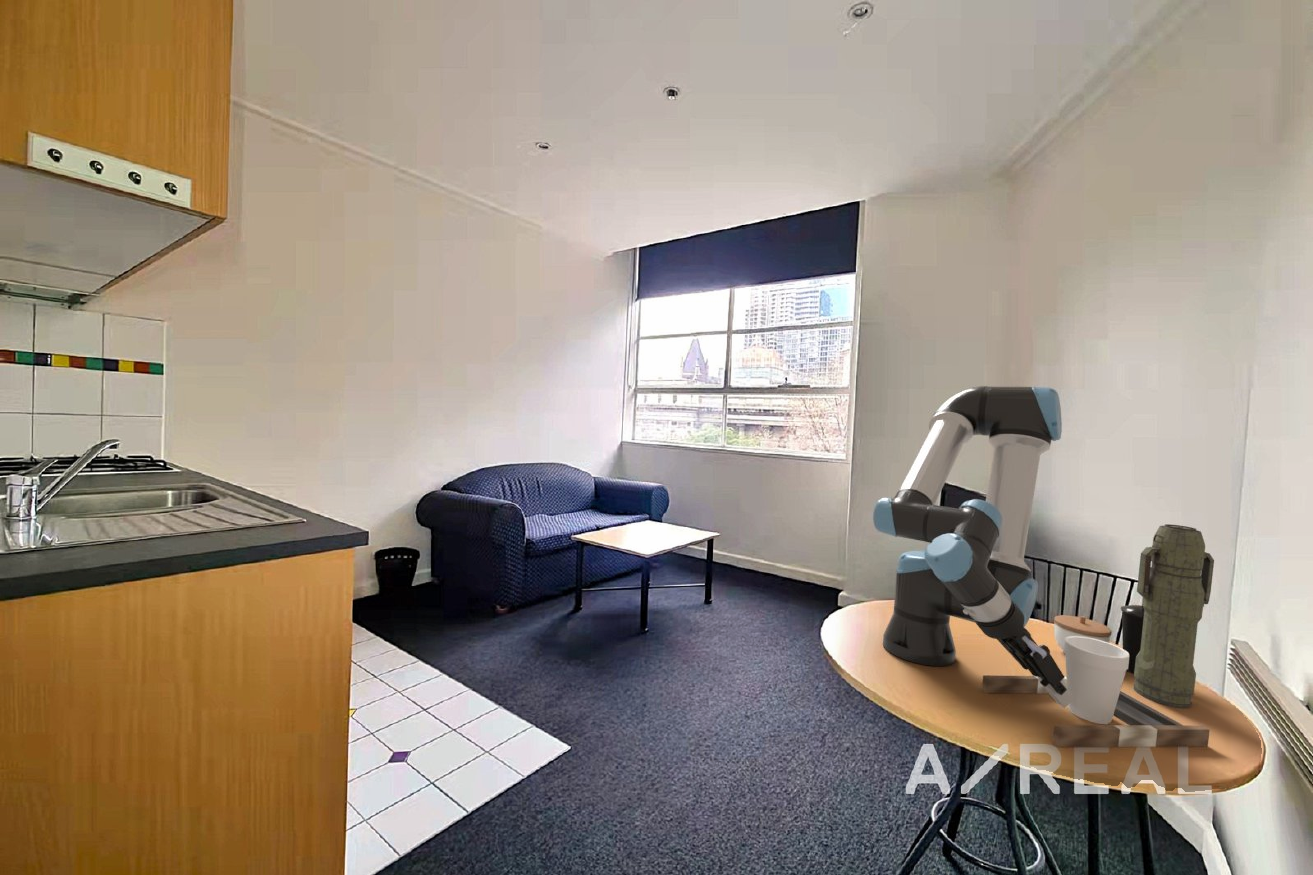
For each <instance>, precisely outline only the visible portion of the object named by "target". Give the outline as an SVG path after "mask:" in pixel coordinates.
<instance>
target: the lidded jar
mask: <svg viewBox="0 0 1313 875" xmlns="http://www.w3.org/2000/svg"><path fill="white" fill-rule="evenodd" d="M1053 620H1054V621H1053V622H1054V623H1053V624H1054V625H1053V629H1054V630H1053V633H1054V639H1055V641H1056V643H1057V645H1058V647H1059V648H1061V650H1062V651H1063V652H1062V653H1064V646H1065V637H1069V636H1081V637H1087V638H1093V639H1097V640H1101V641H1104V642H1108V643H1110V642H1111V636H1112V632H1113V631H1112V629H1111V628H1110V627H1109V626H1108V625H1105V624H1104V623H1100V622H1098V621H1095V620H1092V619H1089V618H1086V616H1083V615H1080V616H1074V615H1065V614H1064V615H1063V614H1061V615H1056V616H1054V617H1053Z"/></svg>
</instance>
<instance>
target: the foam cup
mask: <svg viewBox="0 0 1313 875" xmlns="http://www.w3.org/2000/svg"><path fill="white" fill-rule="evenodd" d="M1063 653H1064V656H1065V658H1064V659H1065V672H1066V674H1065V676H1067V688H1068V690H1069V691H1070V692H1071V693H1072V695H1073V696H1074V697H1075V699H1074V700H1073V701H1072V702H1071V703H1070V704H1069V705H1068V706H1067V707H1068V710H1069V711H1070V712H1071V713H1072V715H1074V716H1076V717H1078V718H1080V719H1083V720H1085V721H1087V722H1091V723H1094V724H1099V725H1100V724H1101V725H1108V724H1109V725H1110V724H1112V720H1113V718H1114V711H1115V708H1116V704H1117V701H1118V697H1119V694H1120V691H1122V686H1123V683H1124V679H1125V676H1126V673H1127V671H1126V670H1127V669H1128V665H1129V653H1128V652H1127V651H1125V650H1124V649H1123V647H1120V646H1117V645H1115V644H1113V643H1108V642H1104V641H1101V640H1097V639H1093V638H1087V637H1081V636H1069V637H1065V646H1064V652H1063Z"/></svg>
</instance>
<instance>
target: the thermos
mask: <svg viewBox="0 0 1313 875" xmlns="http://www.w3.org/2000/svg"><path fill="white" fill-rule="evenodd" d="M1152 538H1153V539H1152V545H1151V546H1149V547H1148V546H1147V547H1145V548H1144V549H1143V550H1142V551H1141V552H1140V556H1139V557H1140V558H1139V567H1138V578H1137V587H1136V592H1137V593H1138V594H1139V595H1140V596H1141V598H1142V599H1143V601H1142V600H1141V606H1143V608H1144V611H1145V612H1144V621H1143V630H1142V640H1141V649H1140V652H1139V653H1138V655H1137V656H1136V662H1135V672H1134V674H1133V678H1134V684H1133V690H1134V691H1135V692H1136V693H1137V694H1138V695H1140V696H1142V697H1143V698H1146V699H1148V700H1150V701H1153V702H1155V703H1157V704H1160V705H1165V706H1168V707H1173V708H1180V709H1189V708H1191V707H1192V703H1193V702H1192V699H1193V695H1194V694H1195V686H1196V679H1197V678H1196V677H1197V673H1196V670H1195V668H1194V659H1195V651H1196V643H1197V634H1198V633H1197V632H1198V625H1199V624H1198V623H1199V622H1200V621H1202V618H1203V610H1204V606H1205V605H1208V604H1209V602H1210V597H1211V593H1212V592H1211V591H1212V586H1213V585H1212V582H1213V574H1214V567H1215V566H1214V565H1215V560H1214V558H1213V556H1212V555H1211V553H1209V552H1205V551H1206V543H1205V540H1204V537H1203V533H1202V531H1201V530H1197V528H1195V527H1191V526H1185V525H1179V524H1178V525H1177V524H1171V523H1170V524H1164V525H1159V527H1158V528H1157V530H1156V531H1155V533H1154V535H1153V537H1152Z"/></svg>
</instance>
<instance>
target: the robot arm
mask: <svg viewBox="0 0 1313 875" xmlns="http://www.w3.org/2000/svg"><path fill="white" fill-rule="evenodd" d="M1061 408H1062V407H1061V400H1060V396H1059V393H1058V392H1057V390H1056V389H1054V388H1053V387H1044V386H1043V387H1042V386H1034V385H1032V386H988V385H982V386H974V387H973V386H972V387H970V388H967V389H964V390H962V391H960V392H957V393H955V394H954V395H953V396H951V397H950V398H948V399H947V400H945V401H944V402H942V404H941V405H940V406H939V407H938V408H937V409H936V410H935V411H934V413H933V414H932V417H930V420H929V422H928V429H929V432H928V434H927V435H926V438H925V439H924V440H923V443H922V445H921V447H920V449H919V451H918V452H917V454H916V456H915V458H914V460H913V462H912V464H911V466H910V467H909V470H908V471H907V474H906V475H905V476H904V479H903V480H902V483H901V485H900V486H899V488H898V490H897V492H896V494H895V496H894V498H893V497H881V498H880V499H878V500H877V501H876V503H875V506H874V508H873V514H872V520H873V524H874V528H875V529H876V531H878V533H882V534H886V535H888V536H894V537H895V538H896V537H898V538H904V539H908V540H909V539H910V540H915V541H920V542H924V543H925V542H926V543H929V544H927V546H926V547H925V549H924V550H910V551H906V552H903V553H901V554H900V556H899V557H898V559H897V560H898V562H897V568H896V571H895V574H896V575H895V576H896V578H895V587H894V588H895V589H894V600H893V602H894V603H893V612H892V613H893V614H892V615H891V618H890V620H889V622H888V624H887V626H886V629H885V630H884V633H883V636H882V638H883V639H882V645H883V647H884V649H885V651H886V650H887V651H888V652H889V653H890V654H892V655H894V656H896V657H897V658H901V659H903V660H905V661H908V662H911V663H913V664H919V665H922V666H923V665H925V666H931V667H932V666H933V667H946V666H951V665H952V664H954V663H955V661H956V655H957V652H956V650H957V649H956V646H955V641H954V637H953V634H952V630H951V627H950V626H951V625H950V620H951V619H950V617H954V618H956V619H957V618H958V619H961V620H964V621H969V622H971V623H975V624H976V625H977V627H978V628H979V629H980V631H981V632H982V633H983V634H984V635H985V636H986V637H988V638H991V639H994V640H997V641H998V642H999V644H1000V645H1002V647H1004V649H1005V650H1006V651H1007V652H1008V654H1010V655H1011V656H1012V657H1013V658H1014V660H1015V661H1016V662H1017V664H1018V663H1019V665H1020V666H1021V667H1022V668H1023V669H1024V670H1026V671H1027V670H1028V671H1029V672H1030V674H1031V676H1035V677H1038V678H1037V679H1038V680H1039V681H1040V683H1041V684H1042V685H1043V686H1044V688H1045V689H1046V690H1047V691H1048V692H1049V695H1050V696H1051V697H1052V699H1053V700H1054V701H1055V703H1056V704H1058V705H1059V706H1061V707H1062V708H1064V709H1066V708H1067V707H1069V706H1068V705H1069V704H1070V703H1071V702H1072V701H1073V700H1074V699H1075V697H1074V696H1073V695H1072V693H1071V692H1070V691H1069V690H1068V688H1067V687H1066V686H1065V685H1064V683H1063V682H1062V681H1061V680H1062V679H1063V678H1064V676H1065V675H1064V674H1063V672H1062V671H1061V669H1060V668H1059V665H1058V664H1057V662H1056V661H1055V659H1054V658H1053V656H1052V655H1051V651H1050V648H1049V647H1048V646H1047V645H1045V644H1039V645H1038V643H1037V642H1036V641H1035V640H1034V639H1033V637H1032V634H1031V633H1030V631H1029V630H1028V629H1027V628H1026V626H1027V625H1028V622H1029V620H1030V618H1031V615H1032V612H1033V610H1034V607H1035V604H1036V600H1037V594H1038V589H1039V585H1038V582H1037V580H1036V579H1034V578H1032V577H1031V572H1032V570H1031V569H1030V567H1029V566H1028V565H1027V564H1026V562H1025V552H1026V547H1027V541H1028V534H1029V527H1030V521H1031V516H1032V509H1033V503H1034V496H1035V490H1036V484H1037V480H1038V479H1037V478H1038V477H1037V476H1038V471H1039V464H1040V459H1041V455H1042V454H1043V453H1045V452H1047V451H1048V450H1050V449H1051V444H1052V441H1053V442H1056V441H1059V440H1061V438H1062V431H1063V430H1062V428H1063V427H1062V424H1063V423H1062V421H1063V420H1062V409H1061ZM973 436H988V443H989V444H990V445H991V446H992V447H993V448H994V452H993V459H992V464H991V468H990V470H991V471H990V475H989V480H988V487H987V492H986V497H985V500H982V499H977V498H973V499H971V500H970V499H969V500H966V501H964V502H963V503H961V505H960V506H959V507H958V508H955V507H951V506H949V507H948V506H945V505H944V506H943V505H936V502H937V500H938V498H939V496H940V494H941V491H942V489H943V488H944V486H945V483H946V481H947V479H948V477H949V475H950V473H951V471H952V469H953V466H954V465H955V463H956V460H957V458H958V456H959V454H960V452H961V450H962V447H963V445H964V444H966V443H968V442H970V440H971V439H972V438H973Z"/></svg>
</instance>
